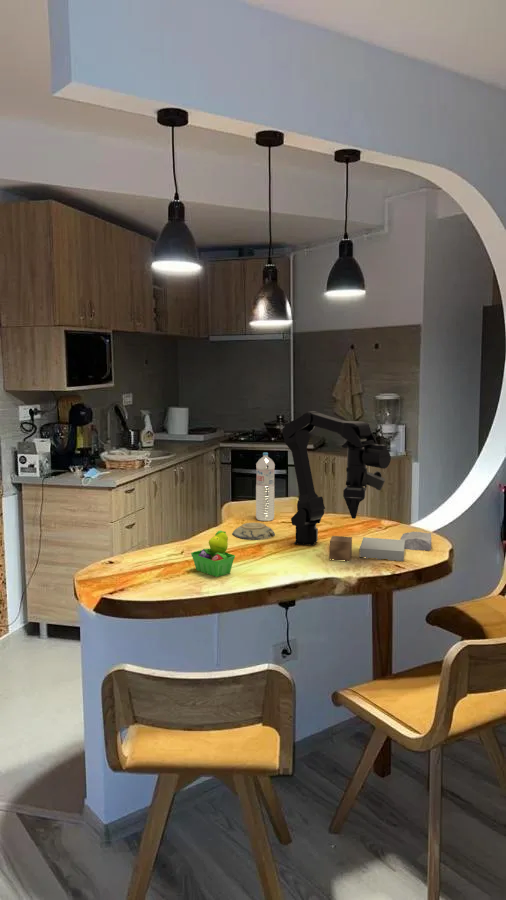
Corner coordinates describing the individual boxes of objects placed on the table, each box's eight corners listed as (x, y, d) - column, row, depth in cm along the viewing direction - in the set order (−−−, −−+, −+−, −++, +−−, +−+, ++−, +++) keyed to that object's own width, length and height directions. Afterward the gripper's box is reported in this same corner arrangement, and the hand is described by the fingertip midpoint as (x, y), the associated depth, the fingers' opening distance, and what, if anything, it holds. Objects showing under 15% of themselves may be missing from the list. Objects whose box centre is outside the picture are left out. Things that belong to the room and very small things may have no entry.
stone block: (401, 555, 218) (433, 551, 216) (399, 540, 218) (431, 536, 215) (402, 546, 230) (432, 542, 227) (399, 532, 229) (430, 528, 227)
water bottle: (253, 517, 258) (253, 451, 255) (270, 516, 261) (271, 451, 257) (259, 522, 252) (259, 454, 249) (276, 520, 254) (277, 453, 251)
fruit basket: (189, 570, 196) (189, 531, 194) (212, 563, 202) (212, 526, 200) (216, 579, 188) (216, 539, 186) (239, 572, 194) (239, 533, 192)
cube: (329, 560, 206) (329, 540, 205) (331, 554, 212) (332, 535, 211) (349, 561, 204) (349, 542, 204) (351, 556, 210) (352, 537, 209)
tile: (359, 557, 208) (359, 548, 208) (363, 546, 221) (363, 537, 220) (403, 561, 205) (403, 551, 205) (404, 549, 218) (404, 540, 217)
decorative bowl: (236, 529, 244) (227, 539, 229) (236, 519, 243) (227, 528, 228) (278, 531, 241) (271, 542, 226) (278, 521, 241) (272, 531, 226)
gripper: (383, 470, 196) (381, 524, 198) (384, 460, 214) (382, 509, 216) (344, 468, 198) (342, 521, 200) (348, 458, 216) (346, 507, 218)
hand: (354, 514), depth 209 cm, fingers open, 9 cm apart
